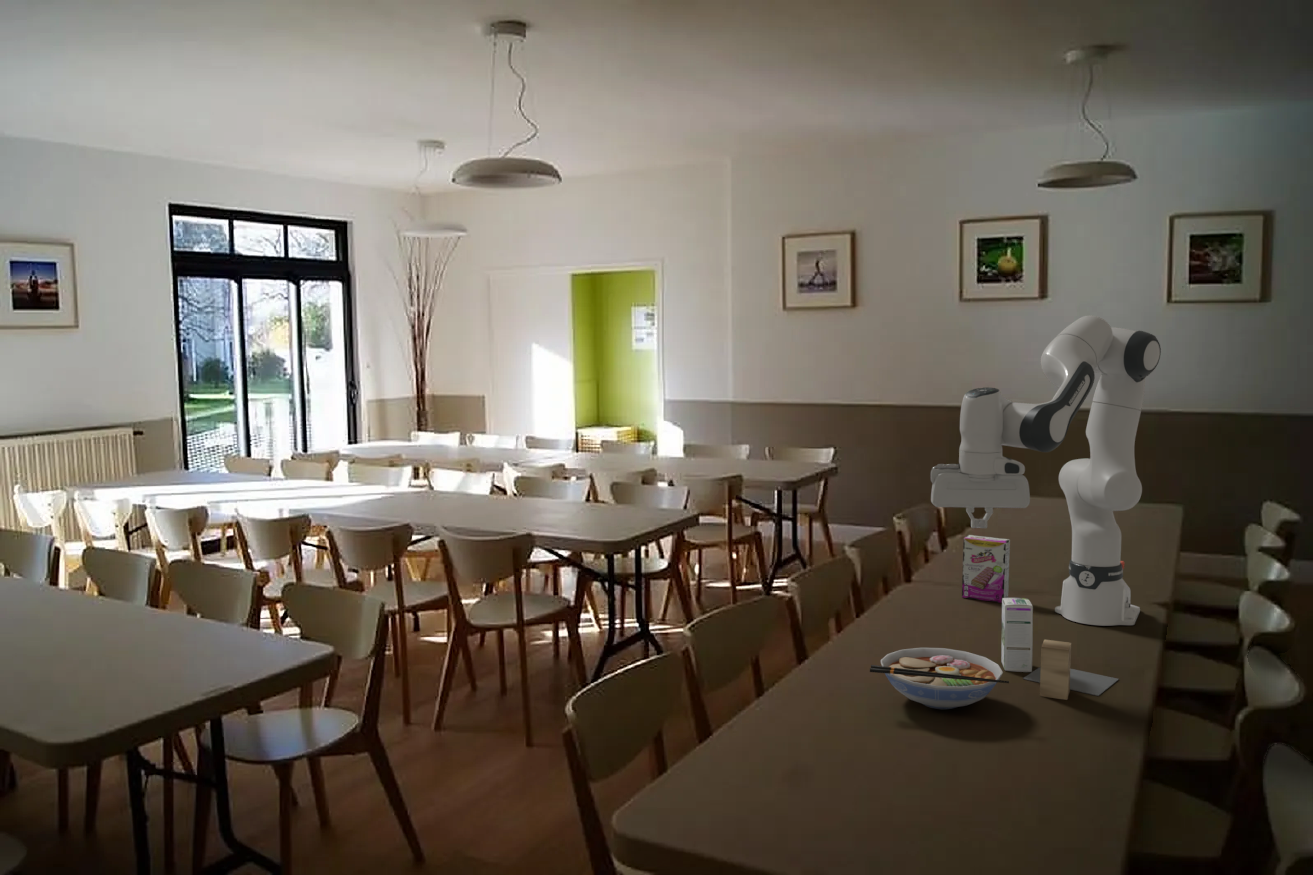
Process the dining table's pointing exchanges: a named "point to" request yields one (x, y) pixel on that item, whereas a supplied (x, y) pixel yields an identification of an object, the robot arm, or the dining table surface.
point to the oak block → (1055, 669)
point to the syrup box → (1017, 634)
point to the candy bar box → (985, 568)
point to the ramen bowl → (940, 676)
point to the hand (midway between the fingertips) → (979, 527)
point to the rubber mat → (1081, 681)
